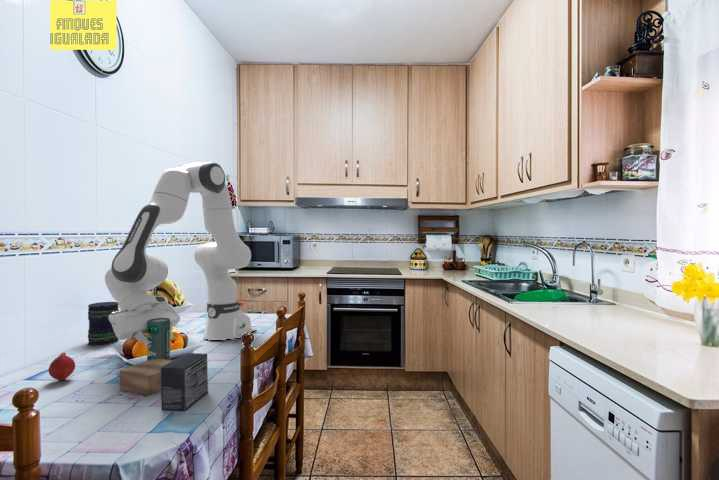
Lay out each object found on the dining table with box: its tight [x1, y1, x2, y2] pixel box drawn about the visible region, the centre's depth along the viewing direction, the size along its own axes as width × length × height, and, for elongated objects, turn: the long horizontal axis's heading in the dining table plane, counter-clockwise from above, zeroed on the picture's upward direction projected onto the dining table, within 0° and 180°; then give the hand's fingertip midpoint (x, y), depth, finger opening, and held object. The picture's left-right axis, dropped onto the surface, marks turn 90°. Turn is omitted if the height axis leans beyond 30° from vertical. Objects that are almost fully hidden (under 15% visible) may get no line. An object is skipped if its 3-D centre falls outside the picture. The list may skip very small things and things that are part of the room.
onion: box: [48, 351, 76, 382], centre depth 103 cm, size 6×6×8 cm
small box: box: [160, 352, 209, 412], centre depth 90 cm, size 11×6×10 cm, turn 174°
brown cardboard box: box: [119, 358, 172, 397], centre depth 101 cm, size 11×11×5 cm
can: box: [146, 318, 171, 361], centre depth 114 cm, size 6×6×15 cm
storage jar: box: [87, 301, 120, 347], centre depth 142 cm, size 10×10×15 cm
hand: (160, 341), depth 113 cm, fingers closed on can, 6 cm apart
